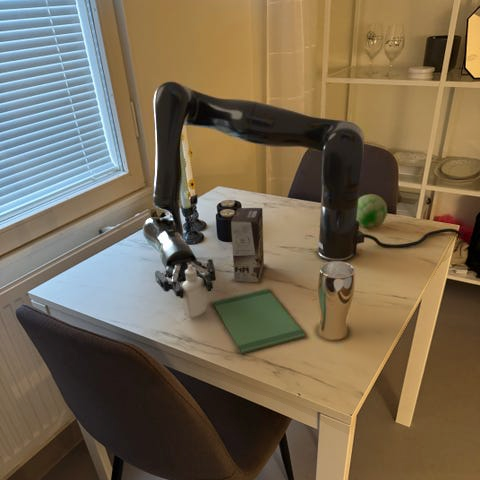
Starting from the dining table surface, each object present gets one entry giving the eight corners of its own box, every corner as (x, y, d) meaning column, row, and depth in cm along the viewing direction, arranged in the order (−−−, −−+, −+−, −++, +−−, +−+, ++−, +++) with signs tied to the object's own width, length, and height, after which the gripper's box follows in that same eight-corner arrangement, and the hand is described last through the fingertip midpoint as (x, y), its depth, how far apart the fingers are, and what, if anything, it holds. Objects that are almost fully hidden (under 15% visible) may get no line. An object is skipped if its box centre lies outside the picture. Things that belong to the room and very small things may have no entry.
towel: (268, 290, 112) (268, 288, 111) (304, 336, 96) (305, 334, 96) (213, 303, 108) (212, 301, 108) (241, 353, 93) (241, 351, 92)
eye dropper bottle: (210, 314, 103) (205, 267, 96) (186, 320, 102) (179, 273, 95) (205, 304, 106) (199, 258, 99) (182, 309, 105) (174, 263, 98)
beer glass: (312, 323, 100) (315, 261, 91) (344, 320, 100) (350, 258, 91) (319, 343, 94) (323, 279, 85) (353, 339, 94) (360, 276, 86)
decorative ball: (370, 218, 143) (374, 186, 138) (391, 230, 136) (396, 197, 130) (344, 225, 140) (346, 193, 135) (364, 237, 133) (367, 204, 127)
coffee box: (259, 282, 115) (257, 222, 106) (233, 281, 116) (229, 221, 107) (264, 265, 122) (263, 207, 113) (241, 264, 123) (237, 206, 114)
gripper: (145, 249, 107) (159, 283, 94) (204, 237, 111) (226, 268, 98) (150, 277, 112) (165, 313, 98) (207, 264, 115) (228, 298, 102)
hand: (195, 291), depth 98 cm, fingers closed on eye dropper bottle, 5 cm apart
